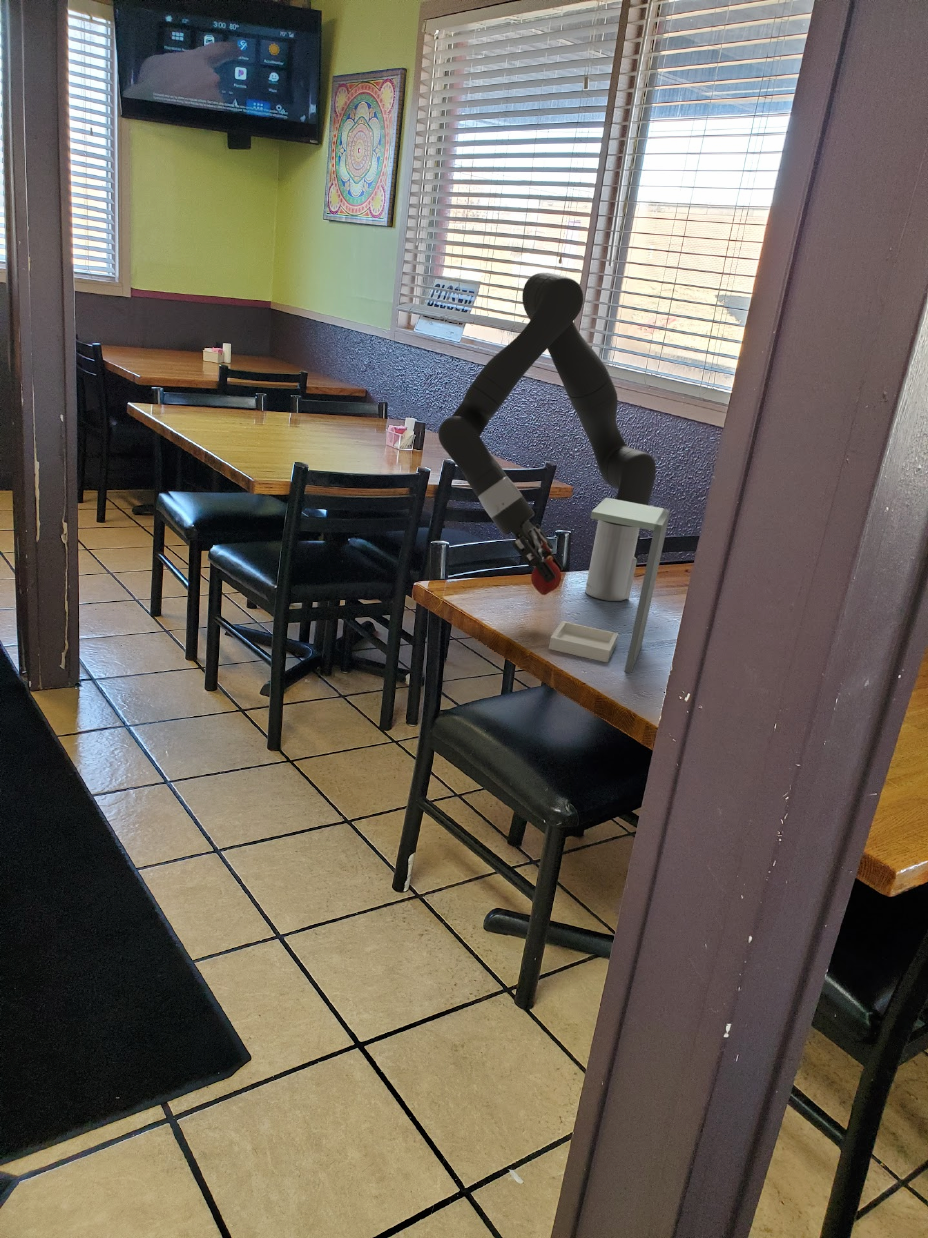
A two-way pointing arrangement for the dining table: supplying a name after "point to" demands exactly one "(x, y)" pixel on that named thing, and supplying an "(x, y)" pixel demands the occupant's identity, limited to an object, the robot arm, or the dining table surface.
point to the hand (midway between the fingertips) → (555, 575)
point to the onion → (540, 582)
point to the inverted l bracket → (658, 523)
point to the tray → (583, 641)
